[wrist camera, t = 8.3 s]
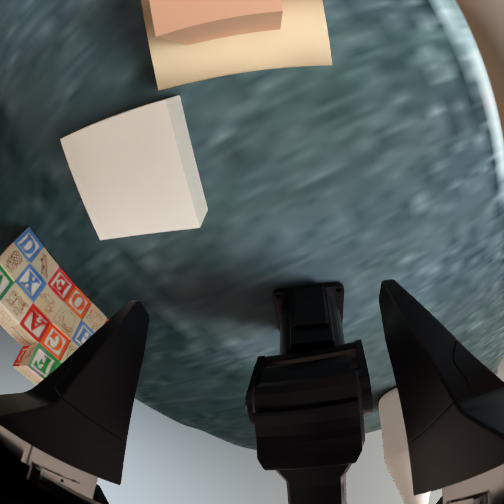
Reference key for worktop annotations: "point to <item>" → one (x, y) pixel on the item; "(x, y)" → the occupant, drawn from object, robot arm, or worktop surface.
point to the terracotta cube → (213, 18)
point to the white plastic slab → (138, 171)
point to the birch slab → (243, 47)
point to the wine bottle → (397, 447)
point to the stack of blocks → (42, 308)
